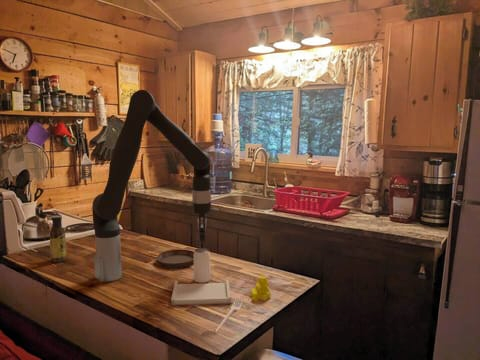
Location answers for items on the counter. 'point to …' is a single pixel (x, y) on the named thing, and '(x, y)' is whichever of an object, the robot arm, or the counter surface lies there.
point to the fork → (231, 312)
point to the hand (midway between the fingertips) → (202, 242)
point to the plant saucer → (176, 258)
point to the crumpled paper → (261, 289)
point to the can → (201, 265)
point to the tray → (201, 294)
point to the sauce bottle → (57, 240)
